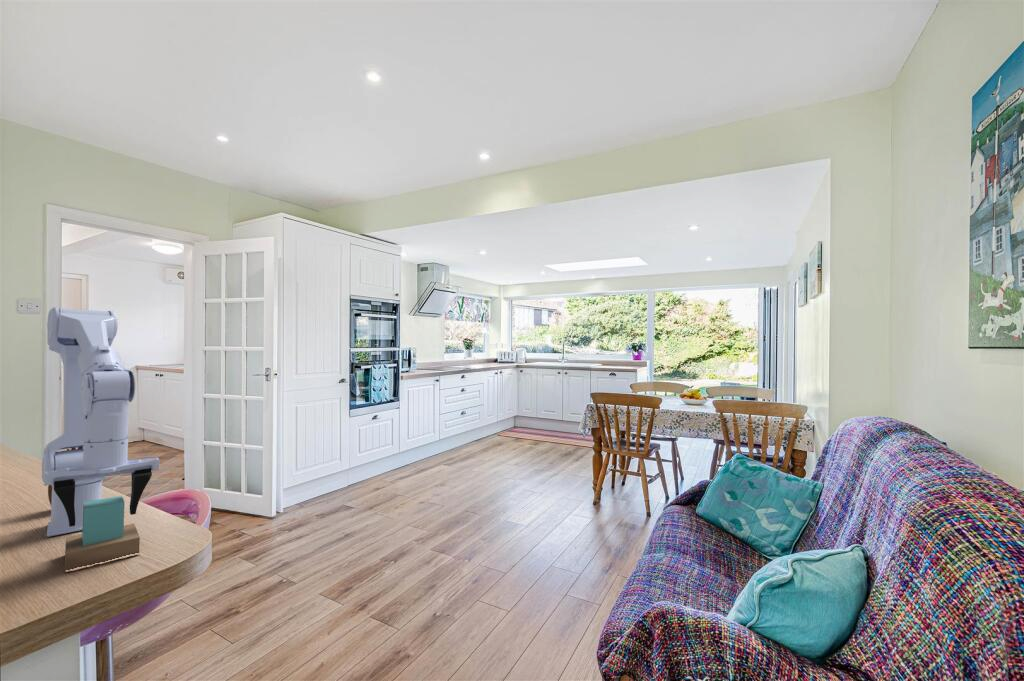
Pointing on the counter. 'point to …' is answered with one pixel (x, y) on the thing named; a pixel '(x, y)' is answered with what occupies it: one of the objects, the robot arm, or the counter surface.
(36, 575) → the counter surface
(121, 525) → the teal block
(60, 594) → the counter surface
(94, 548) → the walnut plinth
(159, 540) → the counter surface
